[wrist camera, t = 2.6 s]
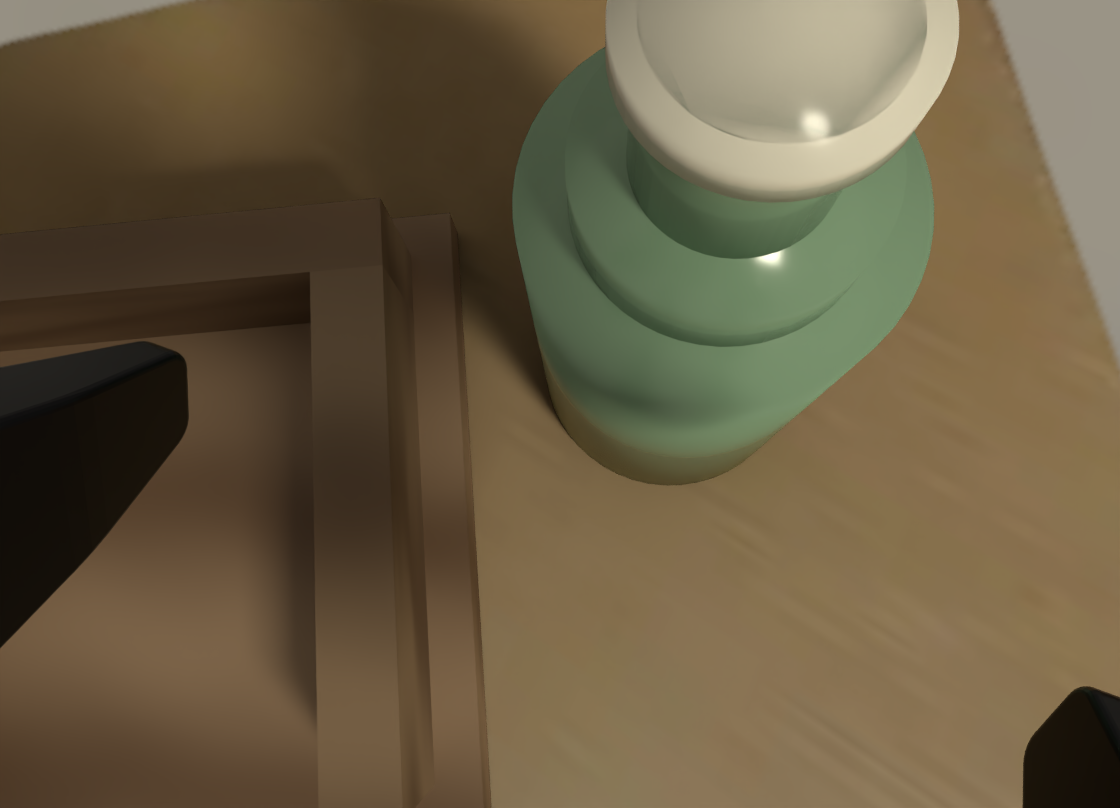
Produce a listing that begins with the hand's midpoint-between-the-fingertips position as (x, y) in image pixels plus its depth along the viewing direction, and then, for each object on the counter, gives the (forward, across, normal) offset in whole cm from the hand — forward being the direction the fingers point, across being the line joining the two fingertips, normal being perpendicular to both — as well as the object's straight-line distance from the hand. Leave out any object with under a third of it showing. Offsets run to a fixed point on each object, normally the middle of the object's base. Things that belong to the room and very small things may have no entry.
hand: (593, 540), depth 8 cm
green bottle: (+12, 0, +5) cm, 13 cm away
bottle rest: (+7, +10, +10) cm, 16 cm away
